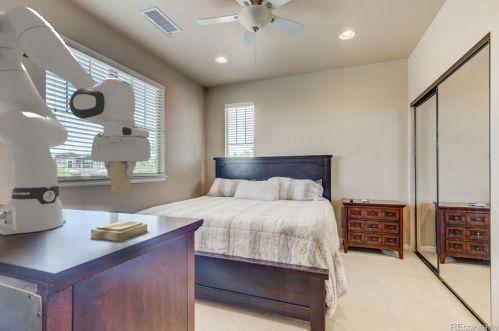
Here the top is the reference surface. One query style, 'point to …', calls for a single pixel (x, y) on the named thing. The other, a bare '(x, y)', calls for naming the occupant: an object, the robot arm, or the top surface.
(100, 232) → the stand
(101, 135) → the robot arm
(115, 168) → the candle
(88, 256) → the top surface
